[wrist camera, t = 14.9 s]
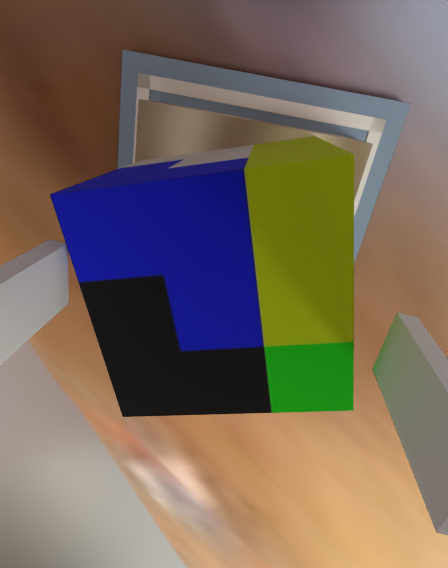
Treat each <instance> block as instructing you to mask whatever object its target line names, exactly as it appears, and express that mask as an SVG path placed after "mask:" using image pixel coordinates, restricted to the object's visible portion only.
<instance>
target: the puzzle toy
mask: <svg viewBox="0 0 448 568" xmlns="http://www.w3.org/2000/svg"><path fill="white" fill-rule="evenodd" d="M50 196H51V199H52V202H53V205H54V208H55V211H56V214H57V218H58V221H59V224H60V227H61V230H62V233H63V236H64V239H65V242H66V245H67V248H68V251H69V254H70V257H71V260H72V263H73V266H74V269H75V272H76V275H77V279H78V282H79V285H80V288H81V291H82V294H83V297H84V300H85V303H86V306H87V309H88V312H89V315H90V318H91V321H92V324H93V327H94V330H95V333H96V336H97V339H98V343H99V346H100V349H101V352H102V355H103V358H104V361H105V364H106V367H107V370H108V373H109V376H110V379H111V382H112V385H113V388H114V391H115V394H116V397H117V400H118V404H119V407H120V410H121V413H122V416H123V417H132V416H168V415H205V414H241V413H277V412H313V411H349V410H353V348H354V154H352V153H350V152H348V151H346V150H344V149H342V148H340V147H337V146H335V145H333V144H331V143H329V142H327V141H325V140H322V139H320V138H318V137H316V136H312V137H305V138H298V139H291V140H284V141H277V142H270V143H263V144H256V145H248V146H241V147H234V148H227V149H220V150H213V151H206V152H199V153H192V154H184V155H177V156H170V157H163V158H156V159H149V160H142V161H138V162H136V163H133V164H130V165H128V166H125V167H122V168H120V169H117V170H114V171H111V172H109V173H106V174H103V175H101V176H98V177H95V178H93V179H90V180H87V181H84V182H82V183H79V184H76V185H74V186H71V187H68V188H66V189H63V190H60V191H57V192H55V193H52V194H50Z"/></svg>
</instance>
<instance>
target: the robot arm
mask: <svg viewBox="0 0 448 568" xmlns="http://www.w3.org/2000/svg"><path fill="white" fill-rule="evenodd" d="M66 305H68V248H67V245H66V243H63V242H58V241H53V240H48V241H46V242H44V243H42V244H40V245H39V246H37V247H35V248H33V249H31V250H29V251H27V252H26V253H24V254H22V255H20V256H18V257H16V258H14V259H13V260H11V261H9V262H7V263H5V264H3V265H1V266H0V365H1V364H2V363H3V362H4V361H5V360H7V359H8V358H9V357H10V356H11V355H12V354H13V353H14V352H15V351H16V350H18V349H19V348H20V347H21V346H22V345H23V344H24V343H25V342H27V341H28V340H29V339H30V338H31V337H32V336H33V335H34V334H35V333H36V332H38V331H39V330H40V329H41V328H42V327H43V326H44V325H45V324H46V323H48V322H49V321H50V320H51V319H52V318H53V317H54V316H55V315H56V314H58V313H59V312H60V311H61V310H62V309H63V308H64V307H65V306H66ZM373 372H374V374H375V377H376V380H377V382H378V385H379V387H380V390H381V392H382V395H383V397H384V400H385V402H386V405H387V408H388V410H389V413H390V415H391V418H392V420H393V423H394V425H395V428H396V431H397V433H398V436H399V438H400V441H401V443H402V446H403V448H404V451H405V453H406V456H407V459H408V461H409V464H410V466H411V469H412V471H413V474H414V476H415V479H416V482H417V484H418V487H419V489H420V492H421V494H422V497H423V499H424V502H425V504H426V507H427V510H428V512H429V515H430V517H431V520H432V522H433V525H434V527H435V530H436V532H437V533H441V534H445V535H448V359H447V357H446V356H445V355H444V353H443V352H442V351H441V349H440V348H439V346H438V345H437V344H436V342H435V341H434V339H433V338H432V337H431V335H430V334H429V332H428V331H427V330H426V328H425V327H424V326H423V324H422V323H421V321H420V320H419V319H418V317H417V316H412V315H407V314H403V313H398V312H397V313H396V316H395V318H394V320H393V323H392V325H391V327H390V330H389V332H388V334H387V337H386V339H385V341H384V344H383V346H382V348H381V351H380V353H379V355H378V358H377V360H376V362H375V365H374V367H373Z"/></svg>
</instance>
